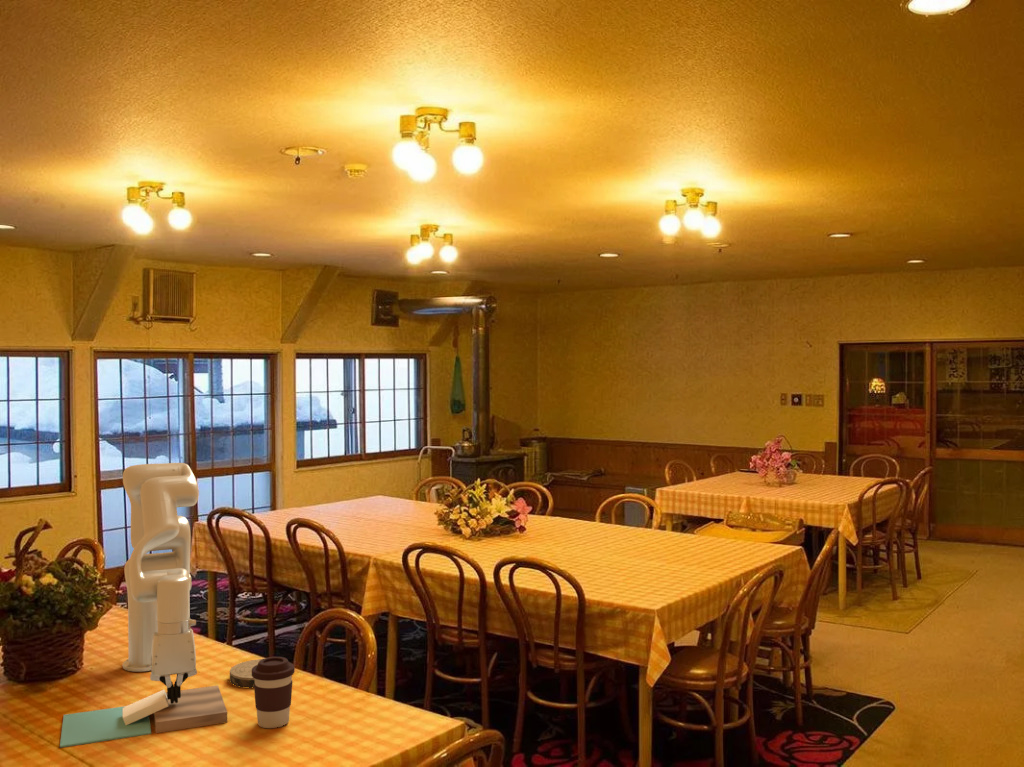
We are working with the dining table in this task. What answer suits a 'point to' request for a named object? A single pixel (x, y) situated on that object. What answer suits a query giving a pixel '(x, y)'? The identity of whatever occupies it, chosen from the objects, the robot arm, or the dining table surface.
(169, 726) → the panel
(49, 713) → the dining table surface
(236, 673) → the wood slice coaster
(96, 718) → the mat
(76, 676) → the dining table surface
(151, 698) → the cream foam board
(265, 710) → the coffee cup
